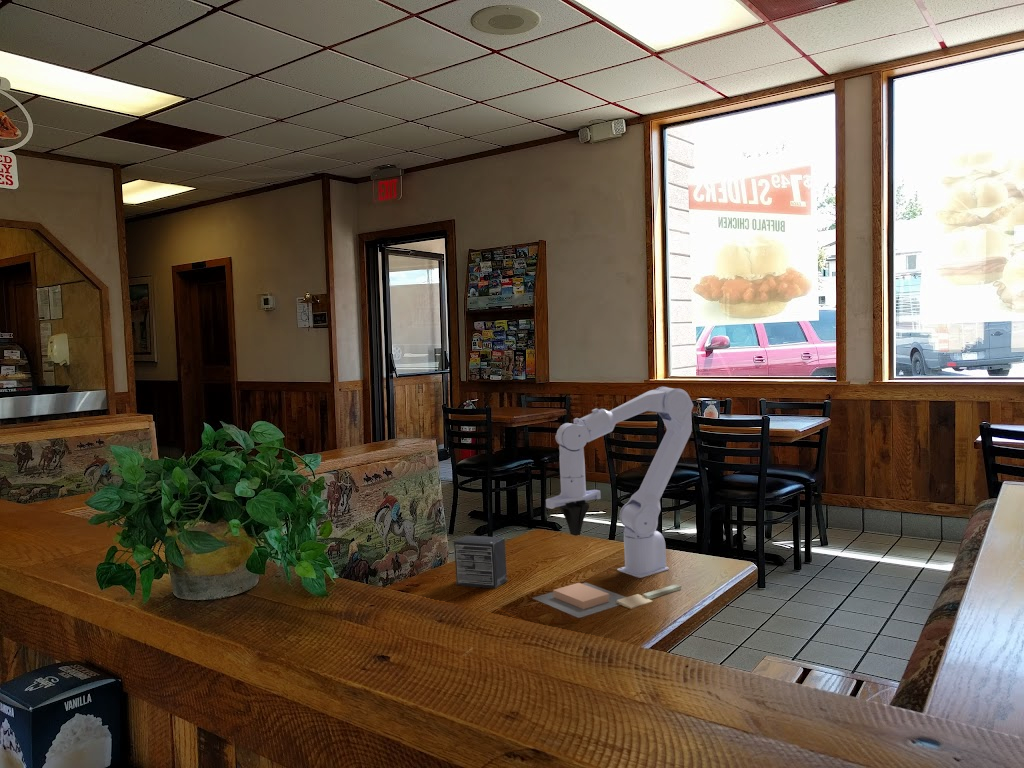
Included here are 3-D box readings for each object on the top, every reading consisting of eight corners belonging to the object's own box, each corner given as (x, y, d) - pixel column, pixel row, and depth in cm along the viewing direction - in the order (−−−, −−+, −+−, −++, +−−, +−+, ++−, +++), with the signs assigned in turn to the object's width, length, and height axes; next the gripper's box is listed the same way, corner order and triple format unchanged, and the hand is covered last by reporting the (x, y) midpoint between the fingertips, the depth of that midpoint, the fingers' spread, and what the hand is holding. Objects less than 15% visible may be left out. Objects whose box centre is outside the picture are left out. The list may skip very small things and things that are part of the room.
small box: (508, 580, 182) (506, 536, 181) (496, 589, 176) (493, 544, 175) (468, 577, 186) (466, 533, 186) (455, 585, 180) (452, 541, 180)
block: (578, 582, 171) (553, 589, 168) (609, 593, 163) (583, 601, 159) (579, 590, 172) (553, 597, 168) (609, 601, 163) (583, 609, 159)
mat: (585, 583, 177) (585, 582, 176) (634, 601, 163) (634, 600, 163) (531, 599, 168) (531, 597, 168) (579, 619, 155) (578, 617, 155)
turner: (671, 586, 171) (671, 581, 171) (686, 592, 167) (686, 588, 167) (616, 602, 162) (616, 597, 162) (631, 609, 158) (631, 605, 158)
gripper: (586, 469, 186) (588, 525, 187) (536, 478, 178) (539, 536, 179) (605, 473, 180) (608, 531, 181) (555, 482, 172) (558, 542, 173)
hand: (575, 534), depth 180 cm, fingers closed
